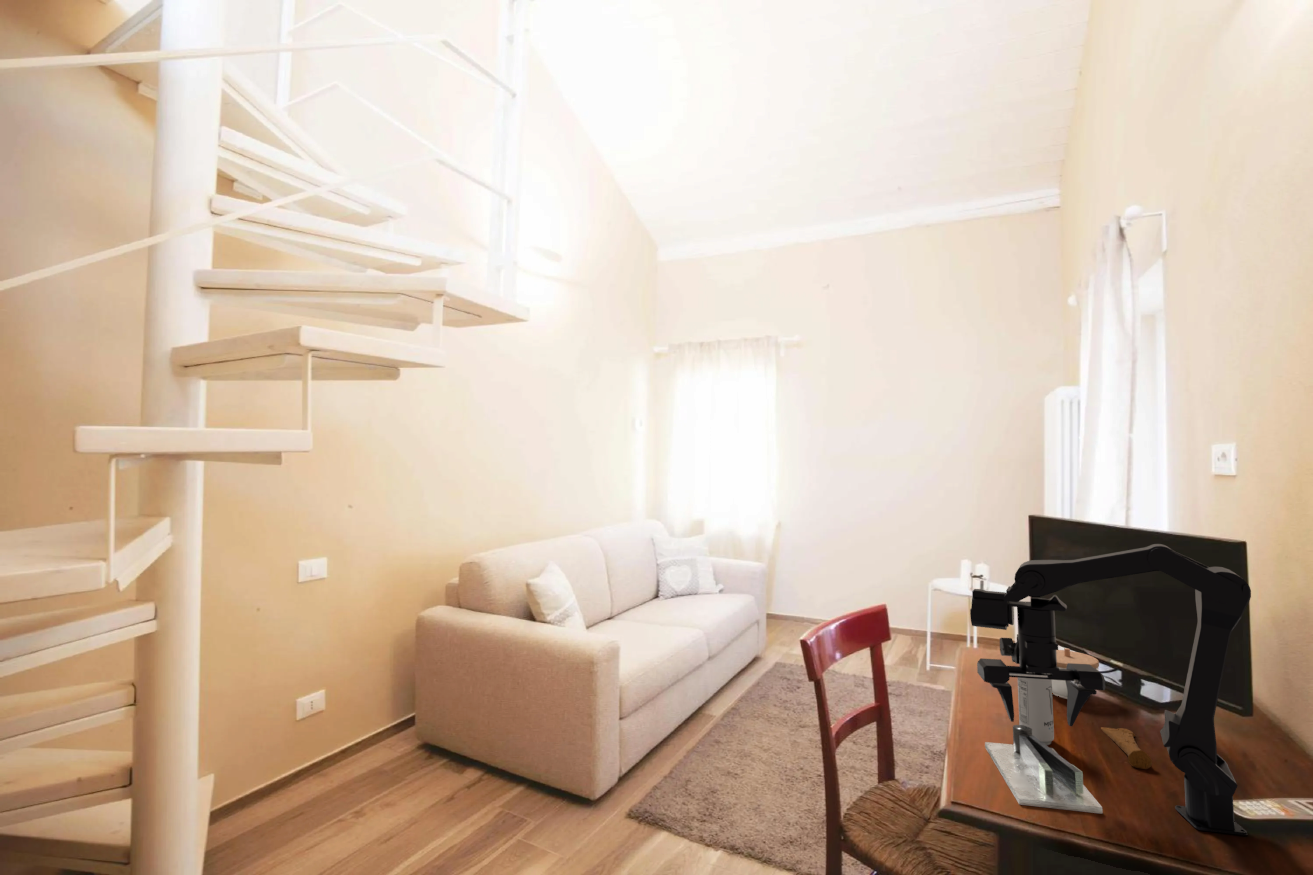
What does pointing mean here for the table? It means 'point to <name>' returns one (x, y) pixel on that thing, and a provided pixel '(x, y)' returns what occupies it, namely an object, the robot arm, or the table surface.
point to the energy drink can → (1036, 707)
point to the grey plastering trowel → (1036, 776)
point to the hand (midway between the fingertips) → (1040, 722)
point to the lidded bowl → (1062, 661)
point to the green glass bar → (1059, 766)
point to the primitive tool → (1129, 747)
